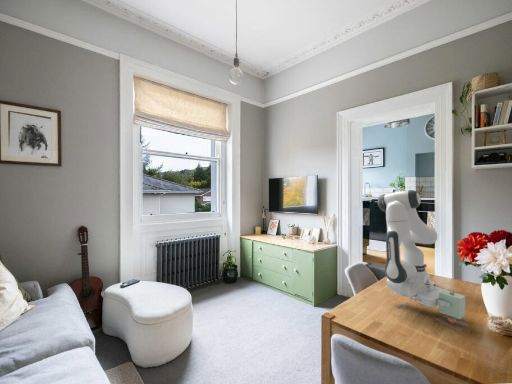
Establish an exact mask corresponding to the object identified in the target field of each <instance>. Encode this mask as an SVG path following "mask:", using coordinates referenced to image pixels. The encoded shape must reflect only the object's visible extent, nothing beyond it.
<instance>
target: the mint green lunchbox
mask: <svg viewBox="0 0 512 384" xmlns="http://www.w3.org/2000/svg"><path fill="white" fill-rule="evenodd" d="M446 290H447V289H445V290H443V291H441V292H439V300H441V301H445V302H450V303H451V307H447V306H440V305H438V312H439V313H441V314H443V315H444V314H446V315H449V316H452V317H454V318H457V319H460V320H462V319H463V318H464V317H466V296H465V295H464V294H460V293H456V292H455V291H453V290H448V291H446Z"/></svg>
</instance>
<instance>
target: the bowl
mask: <svg viewBox="0 0 512 384" xmlns="http://www.w3.org/2000/svg"><path fill="white" fill-rule="evenodd" d="M447 317H448V322H450V323H452V324H456V320H457V318H454V317H452V316H449V315H447Z"/></svg>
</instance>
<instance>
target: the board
mask: <svg viewBox="0 0 512 384" xmlns="http://www.w3.org/2000/svg"><path fill="white" fill-rule="evenodd" d="M435 322H436V323H438V324H439V325H440V324H441V325H443V326H445V327H448V328H451V329H454V330H456V331H459V332H461V331H462V330H464V329H465V328H466V327H468V326H469V325H471V322H468V321H467V320H463V319H457V320H456V324H452V323H450V322H448V317H447V315H446V314H443V315H441V316H439V317H437V318H436V319H434V323H435Z"/></svg>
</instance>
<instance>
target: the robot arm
mask: <svg viewBox="0 0 512 384" xmlns="http://www.w3.org/2000/svg"><path fill="white" fill-rule="evenodd" d="M421 200H422V199H421V195H420V194H419V192H418V191H417V190H413V189H412V190H410V189H409V190H400V191H395V192H389V193H384V194H383V193H382V194H381V195H379V196H378V198H377V205H378V208H379V210H381V211H382V212H384V213H385V220H386V221H385V222H386V237H385V239H386V240H385V247H386V264H385V267H384V273H385V276H386V278H387V279H386V286H387V288H388V290H390V291H391V292H392V293H395V294H396V295H399V296H401V297H404V298H409V299H411V300H413V301H416V302H417V303H418V304H421V305H423V306H425V307H428V308H433V309H434V308H435V307H437V306H439V305H440V306H447V307H451V303H450V302H445V301H441V300H439V292H441V291H443V290H446V291H449V290H448V289H445V288H443V287H439V286H435V282H433V281H431V275H430V274H429V273H428V272H427V271H426V268H427V264H426V263H425V262H424V261H425V254H424V252H423V251H422V250H421V249H420V248H419V247H417V245H416V244H420V245H421V244H422V245H432V244H435V242H437V240H438V233H437V231H436V230H435V228H432V227H430V226H429V225H427V224H426V223H425V222H424V221H423V220H422V219H421V217H420V215H419V214H418V211H417V208H419V206H420V205H421ZM400 247H401V248H400ZM401 249H402V252H403V253H402V254H403V260H402V261H401ZM442 288H443V289H442Z"/></svg>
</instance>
